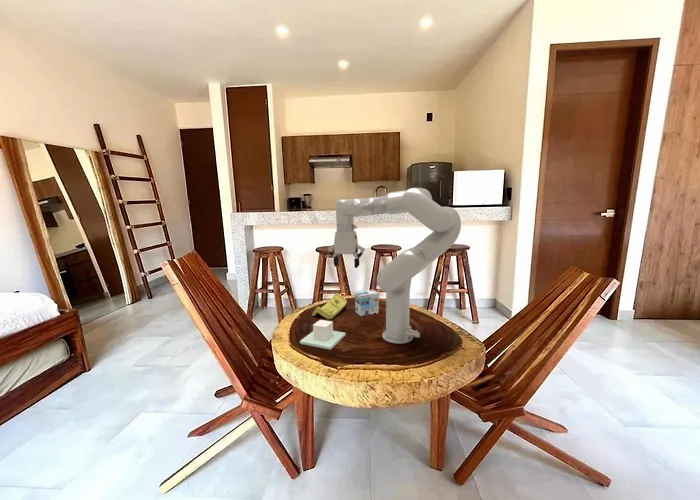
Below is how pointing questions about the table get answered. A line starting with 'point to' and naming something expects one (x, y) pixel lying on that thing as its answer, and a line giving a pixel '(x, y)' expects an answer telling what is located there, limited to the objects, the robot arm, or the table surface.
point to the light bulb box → (366, 302)
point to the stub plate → (323, 344)
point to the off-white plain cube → (323, 330)
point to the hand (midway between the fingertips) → (346, 266)
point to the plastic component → (331, 307)
